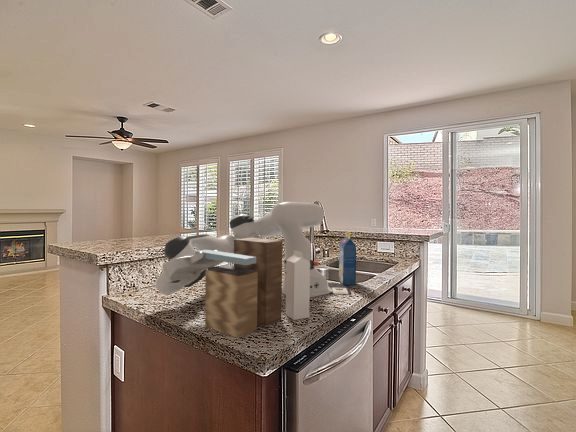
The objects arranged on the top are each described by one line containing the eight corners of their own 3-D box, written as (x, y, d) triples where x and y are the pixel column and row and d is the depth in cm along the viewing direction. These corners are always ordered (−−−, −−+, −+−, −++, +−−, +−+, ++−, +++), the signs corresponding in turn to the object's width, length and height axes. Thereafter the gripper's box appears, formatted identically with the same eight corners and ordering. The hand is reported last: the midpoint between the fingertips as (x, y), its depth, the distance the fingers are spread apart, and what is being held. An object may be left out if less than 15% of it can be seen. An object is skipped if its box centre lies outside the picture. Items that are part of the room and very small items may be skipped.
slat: (195, 256, 101) (195, 251, 101) (206, 254, 105) (206, 249, 104) (245, 265, 88) (245, 259, 88) (256, 263, 92) (256, 257, 92)
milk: (293, 320, 102) (294, 253, 102) (285, 314, 108) (285, 250, 107) (309, 317, 105) (310, 252, 104) (300, 311, 111) (301, 249, 110)
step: (205, 326, 96) (205, 268, 95) (224, 319, 103) (224, 264, 102) (238, 338, 88) (238, 274, 87) (257, 329, 94) (257, 269, 94)
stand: (233, 317, 104) (233, 239, 104) (249, 310, 111) (250, 237, 110) (265, 327, 96) (266, 242, 95) (281, 319, 103) (282, 240, 102)
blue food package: (342, 286, 147) (343, 233, 147) (338, 280, 159) (339, 231, 159) (355, 286, 147) (357, 233, 147) (350, 280, 159) (351, 231, 159)
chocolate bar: (346, 283, 151) (351, 293, 133) (346, 285, 151) (351, 295, 133) (327, 282, 151) (330, 292, 133) (327, 284, 151) (330, 295, 133)
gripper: (213, 273, 115) (237, 257, 108) (163, 284, 98) (187, 267, 91) (207, 257, 116) (230, 241, 109) (157, 265, 100) (180, 247, 93)
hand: (210, 253), depth 100 cm, fingers closed on slat, 4 cm apart
